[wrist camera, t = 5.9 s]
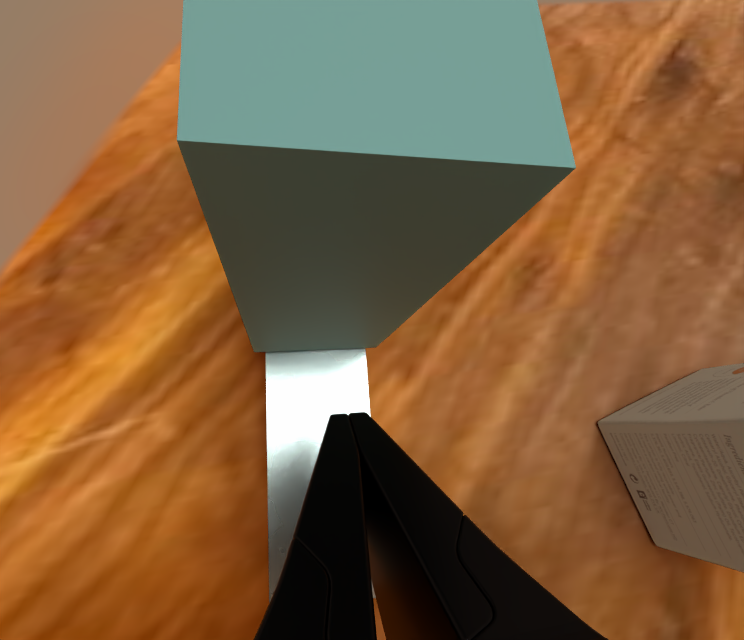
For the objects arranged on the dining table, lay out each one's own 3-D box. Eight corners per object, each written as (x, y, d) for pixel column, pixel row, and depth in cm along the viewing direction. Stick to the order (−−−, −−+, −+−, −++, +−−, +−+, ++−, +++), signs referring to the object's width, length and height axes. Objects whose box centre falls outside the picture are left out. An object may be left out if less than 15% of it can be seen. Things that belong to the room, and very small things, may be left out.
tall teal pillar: (375, 347, 17) (576, 167, 5) (254, 352, 16) (177, 139, 4) (367, 244, 18) (516, -86, 6) (253, 242, 17) (191, -157, 5)
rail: (382, 575, 17) (776, 1149, 3) (260, 596, 15) (130, 1561, 2) (349, 152, 21) (457, -292, 8) (255, 146, 20) (206, -377, 7)
